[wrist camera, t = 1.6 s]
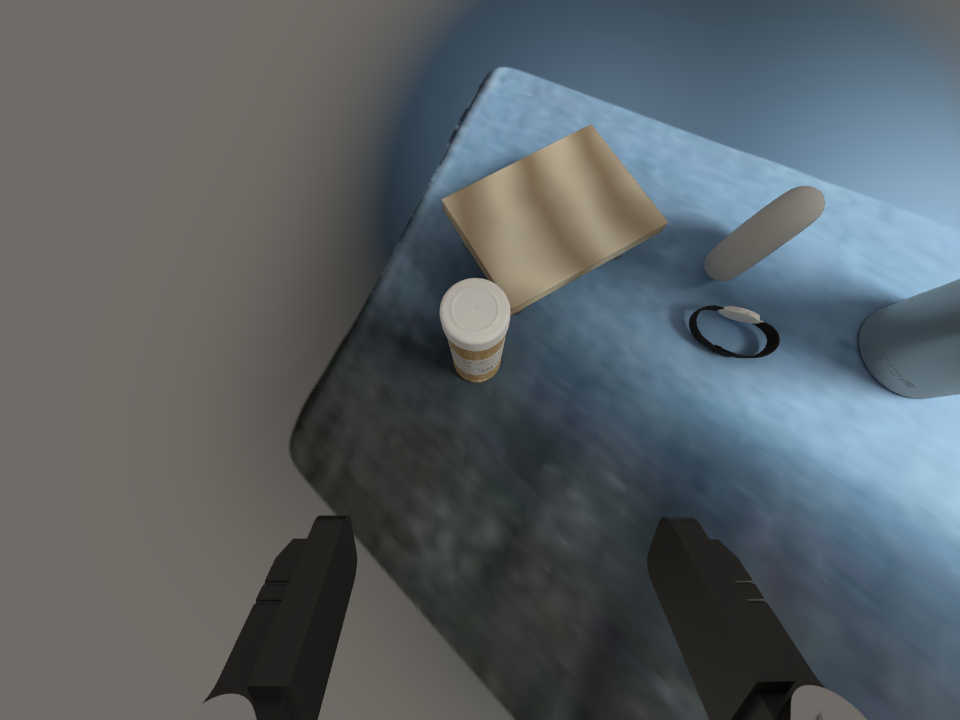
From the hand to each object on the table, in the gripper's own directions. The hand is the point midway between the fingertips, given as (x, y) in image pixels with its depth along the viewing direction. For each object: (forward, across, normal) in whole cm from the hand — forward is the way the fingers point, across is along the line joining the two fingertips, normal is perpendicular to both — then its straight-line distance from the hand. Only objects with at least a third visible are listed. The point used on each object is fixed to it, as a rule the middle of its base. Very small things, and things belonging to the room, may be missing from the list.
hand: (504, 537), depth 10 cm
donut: (+33, -25, +1) cm, 42 cm away
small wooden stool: (+34, -7, 0) cm, 35 cm away
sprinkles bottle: (+27, 0, +9) cm, 28 cm away
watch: (+28, -24, +7) cm, 37 cm away
